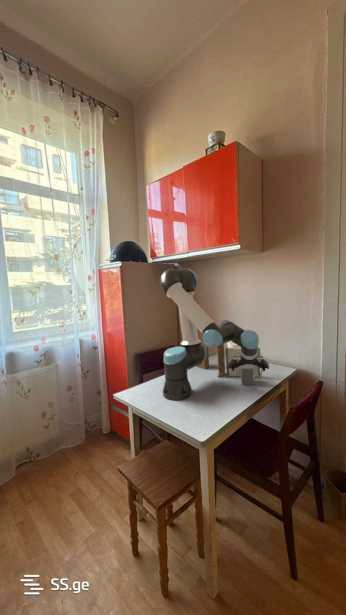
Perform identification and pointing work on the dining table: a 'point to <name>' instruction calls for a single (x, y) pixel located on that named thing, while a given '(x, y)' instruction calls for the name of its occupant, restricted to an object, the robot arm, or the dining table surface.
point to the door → (237, 352)
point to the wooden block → (205, 362)
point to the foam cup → (232, 345)
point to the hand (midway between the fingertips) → (247, 372)
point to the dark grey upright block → (247, 375)
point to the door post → (221, 361)
